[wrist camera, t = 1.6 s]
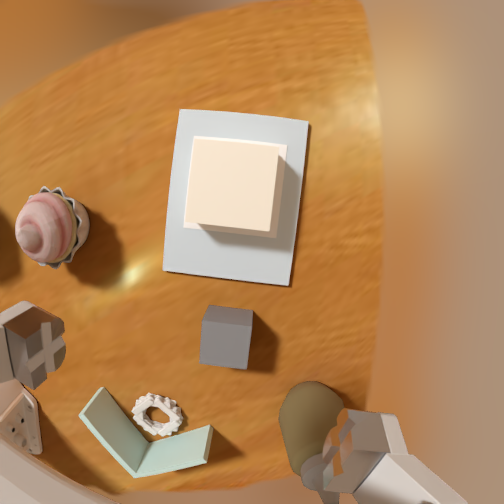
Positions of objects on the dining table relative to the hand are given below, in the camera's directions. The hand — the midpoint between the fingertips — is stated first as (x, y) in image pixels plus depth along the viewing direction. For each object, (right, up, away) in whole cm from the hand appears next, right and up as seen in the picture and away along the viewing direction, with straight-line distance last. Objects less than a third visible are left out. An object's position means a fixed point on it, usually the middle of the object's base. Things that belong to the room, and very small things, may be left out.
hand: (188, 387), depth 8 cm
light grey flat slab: (0, +10, +27) cm, 28 cm away
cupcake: (-21, +7, +28) cm, 35 cm away
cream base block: (0, +10, +26) cm, 28 cm away
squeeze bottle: (+9, -15, +31) cm, 35 cm away
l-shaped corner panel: (-12, -18, +32) cm, 39 cm away
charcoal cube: (-1, -5, +29) cm, 30 cm away
